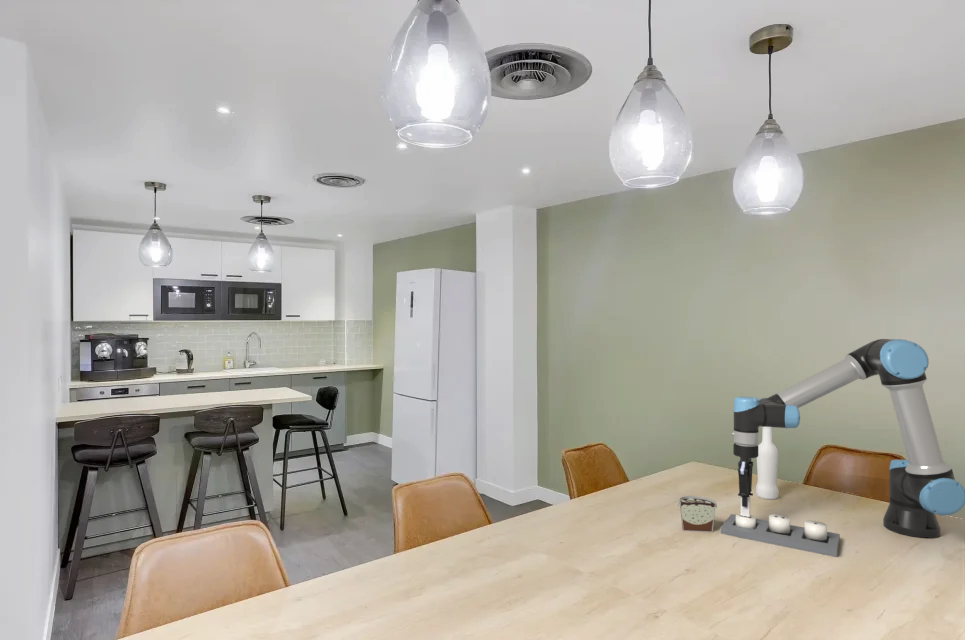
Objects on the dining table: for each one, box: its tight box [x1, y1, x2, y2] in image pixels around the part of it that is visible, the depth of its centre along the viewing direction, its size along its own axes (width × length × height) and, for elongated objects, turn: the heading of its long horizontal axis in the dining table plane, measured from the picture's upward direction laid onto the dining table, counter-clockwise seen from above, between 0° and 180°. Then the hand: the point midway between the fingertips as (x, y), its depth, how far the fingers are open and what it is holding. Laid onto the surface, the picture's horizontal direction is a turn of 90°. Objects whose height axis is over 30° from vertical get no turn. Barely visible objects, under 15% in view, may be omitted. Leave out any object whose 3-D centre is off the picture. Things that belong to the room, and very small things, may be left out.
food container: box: [677, 495, 718, 533], centre depth 189 cm, size 12×6×10 cm, turn 84°
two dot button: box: [768, 513, 791, 534], centre depth 182 cm, size 6×6×4 cm
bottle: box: [755, 427, 780, 501], centre depth 225 cm, size 8×8×30 cm
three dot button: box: [735, 513, 757, 529], centre depth 188 cm, size 6×6×4 cm
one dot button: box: [803, 520, 828, 541], centre depth 176 cm, size 6×6×4 cm
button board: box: [720, 513, 841, 558], centre depth 182 cm, size 32×16×2 cm, turn 55°
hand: (745, 515), depth 188 cm, fingers closed
